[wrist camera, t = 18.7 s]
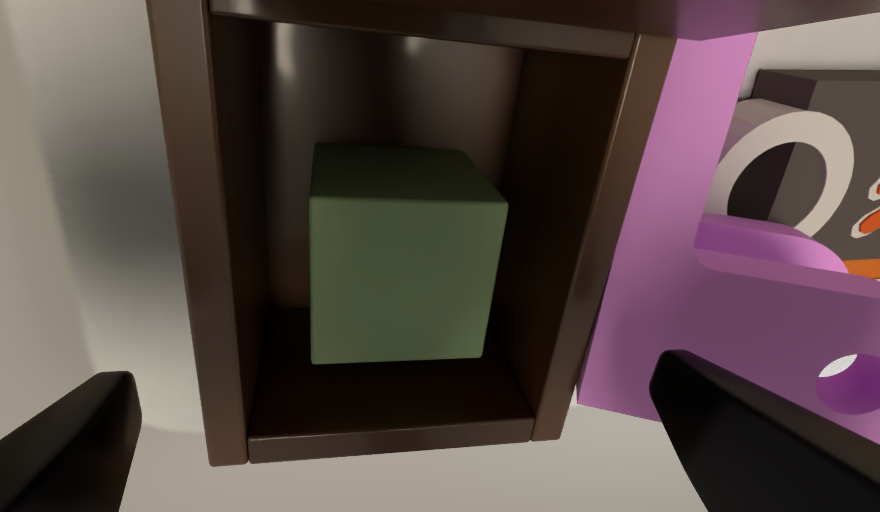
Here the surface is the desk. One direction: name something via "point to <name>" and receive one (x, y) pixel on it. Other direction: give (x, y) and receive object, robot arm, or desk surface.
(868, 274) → the electronic device
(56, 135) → the desk surface
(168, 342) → the desk surface
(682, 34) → the lid
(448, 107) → the chest
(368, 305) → the block
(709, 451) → the robot arm
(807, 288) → the bracket
